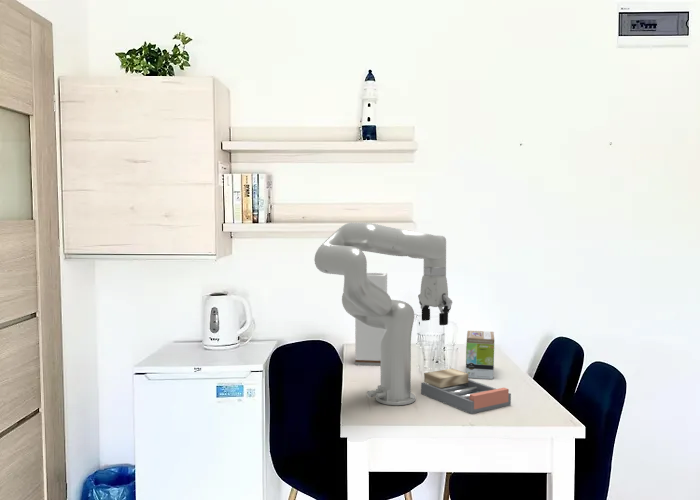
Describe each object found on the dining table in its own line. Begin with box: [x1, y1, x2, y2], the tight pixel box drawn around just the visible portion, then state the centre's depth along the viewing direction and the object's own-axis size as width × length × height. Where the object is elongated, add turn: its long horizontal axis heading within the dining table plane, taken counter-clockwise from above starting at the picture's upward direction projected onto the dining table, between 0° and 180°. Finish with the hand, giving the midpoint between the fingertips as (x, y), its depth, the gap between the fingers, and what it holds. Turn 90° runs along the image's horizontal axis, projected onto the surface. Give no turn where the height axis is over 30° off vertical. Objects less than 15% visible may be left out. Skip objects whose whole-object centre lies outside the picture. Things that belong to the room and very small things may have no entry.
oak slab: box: [423, 368, 469, 388], centre depth 204 cm, size 12×8×3 cm, turn 121°
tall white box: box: [354, 272, 388, 367], centre depth 245 cm, size 11×11×35 cm
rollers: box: [429, 383, 488, 400], centre depth 198 cm, size 12×22×2 cm, turn 31°
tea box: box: [465, 330, 495, 380], centre depth 228 cm, size 15×10×15 cm
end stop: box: [470, 387, 510, 409], centre depth 188 cm, size 14×2×4 cm, turn 121°
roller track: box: [420, 378, 512, 415], centre depth 197 cm, size 16×24×4 cm, turn 31°
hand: (434, 322), depth 210 cm, fingers open, 9 cm apart
